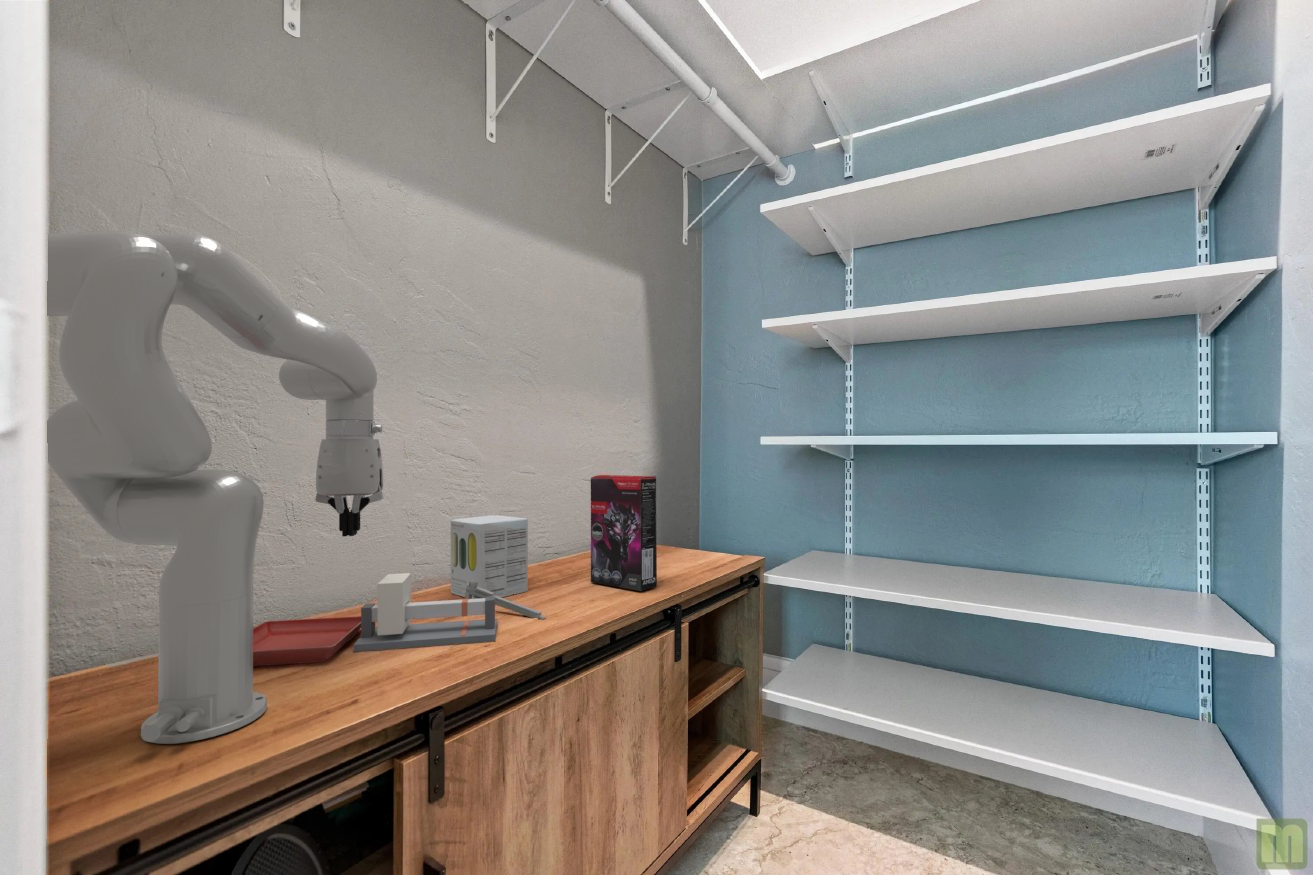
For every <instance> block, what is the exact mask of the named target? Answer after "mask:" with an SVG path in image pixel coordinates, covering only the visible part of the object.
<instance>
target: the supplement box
mask: <svg viewBox="0 0 1313 875" xmlns="http://www.w3.org/2000/svg"><path fill="white" fill-rule="evenodd" d="M528 520H529V519H528V518H524V517H517V516H510V515H497V514H491V515H483V516H482V515H481V516H473V517H464V518H456V519H450V521H449V522H450V594H452V595H453V594H454V595H456V596H459V597H463V598H465V592H466V587H467V585H469V584H470V581H471V580H474V583H475V582H478V584H477V588H478V587H480V588H483V589H485V590H488V591H491V592H493V593H495V595H496V596H499V597H501V598H504V597H508V596H509V597H510V596H513V594H514V595H518V594H523V593H527V592H529V586H528V585H529V580H528V578H529V577H528V574H529V572H528V570H529V568H528V566H529V564H528V563H529V561H528V559H529V558H528V557H529V556H528V554H529V552H528V551H529V550H528V549H529V547H528V545H529V543H528V542H529V541H528V540H529V534H528V533H529V532H528V530H529V529H528V528H529V524H528V523H529V521H528ZM473 598H474V596H472V599H473Z"/></svg>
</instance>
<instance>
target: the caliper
mask: <svg viewBox="0 0 1313 875" xmlns="http://www.w3.org/2000/svg"><path fill="white" fill-rule="evenodd" d="M477 584H478V582H475V583H474V580H471V581H470V584H469V585H467V587H466V592H465V597H464V599H472V596H474V598H473V599H479V598H486V597H488V596H495V606H498V607H502V608H504V609H505V610H509V611H512V612H515V613H517V614H520V615H523V616H526V618H527V617H528V618H531V619H534V618H539V619H540V620H542V619H543V620H545V619H547V616H545V615H543V614H542V612H541V611H540V610H537V609H535V608H532V607H528V606H526V605H523V604H520V603H517V602H515V601H512V600H509V599H507V598H504V597H499V596H496V595H495V593H493V592H491V591H488V590H485V589H483V588H480V587H478V588H477ZM539 619H538V620H539Z"/></svg>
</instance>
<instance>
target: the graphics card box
mask: <svg viewBox="0 0 1313 875" xmlns="http://www.w3.org/2000/svg"><path fill="white" fill-rule="evenodd" d="M657 550H658V549H657V477H656V475H654V476H653V475H650V476H649V475H648V476H647V475H621V474H620V475H619V474H599V475H595V476H591V477H590V583H592V584H597V583H598V584H597V585H602V584H603V585H602V586H609V587H617V588H621V589H626V590H632V591H638V592H643V591H645V590H649V589H652V588H657V587H658V586H657V585H658V583H657V580H658V579H657V578H658V573H657V570H658V568H657V566H658V564H657V560H658V559H657V558H658V556H657Z"/></svg>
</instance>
